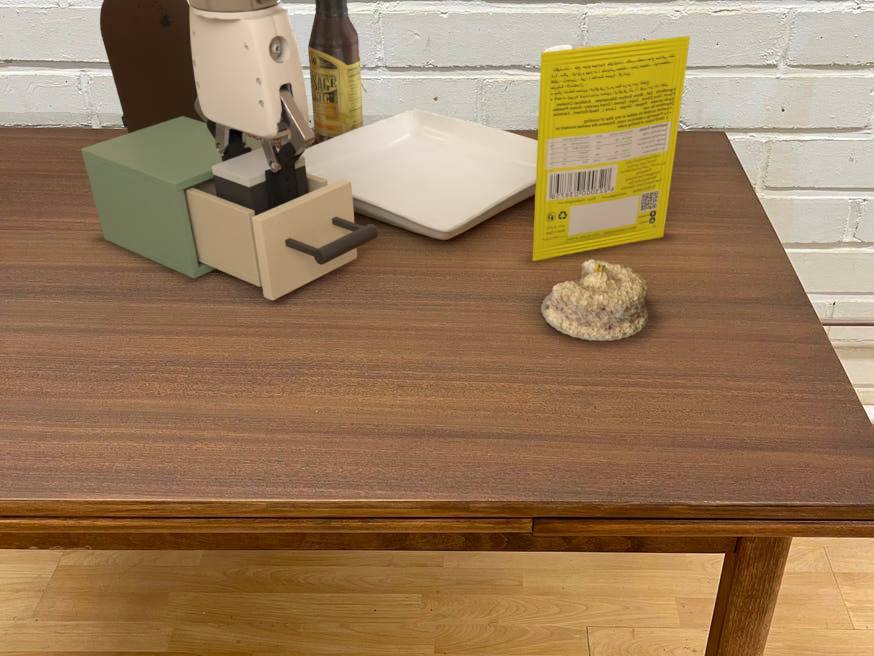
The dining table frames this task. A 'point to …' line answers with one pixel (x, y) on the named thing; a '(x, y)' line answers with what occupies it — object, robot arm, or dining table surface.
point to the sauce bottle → (334, 71)
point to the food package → (606, 144)
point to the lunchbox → (251, 180)
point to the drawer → (277, 235)
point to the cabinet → (153, 189)
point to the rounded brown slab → (150, 59)
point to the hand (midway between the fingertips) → (263, 198)
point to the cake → (599, 303)
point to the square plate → (429, 171)
